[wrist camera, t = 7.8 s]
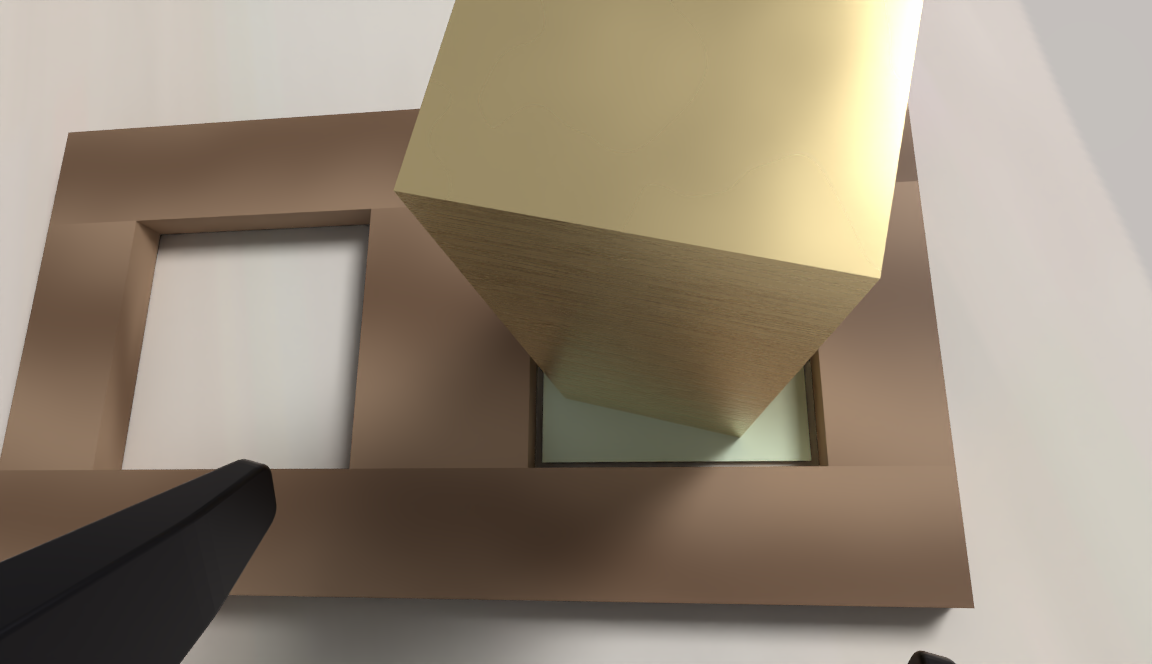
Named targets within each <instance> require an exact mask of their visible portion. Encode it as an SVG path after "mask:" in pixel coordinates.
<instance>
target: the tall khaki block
mask: <svg viewBox="0 0 1152 664" xmlns="http://www.w3.org/2000/svg"><path fill="white" fill-rule="evenodd" d="M922 4H923V0H456V1H455V4H454V7H453V10H452V13H451V16H450V19H449V22H448V25H447V28H446V31H445V34H444V37H443V40H442V43H441V47H440V50H439V53H438V56H437V59H436V62H435V65H434V68H433V71H432V74H431V77H430V80H429V83H428V86H427V89H426V92H425V95H424V99H423V102H422V105H421V108H420V111H419V114H418V117H417V120H416V123H415V126H414V129H413V132H412V135H411V138H410V141H409V144H408V147H407V150H406V154H405V157H404V160H403V163H402V166H401V169H400V172H399V175H398V178H397V181H396V184H395V187H394V190H393V191H394V192H395V193H396V194H397V196H398V197H399V198H400V199H401V201H402V202H403V203H404V204H405V205H406V207H407V208H408V209H409V210H410V211H411V213H412V214H413V215H414V216H415V217H416V219H417V220H418V221H419V222H420V223H421V225H422V226H423V227H424V228H425V230H426V231H427V232H428V233H429V234H430V236H431V237H432V238H433V239H434V240H435V242H436V243H437V244H438V245H439V246H440V248H441V249H442V250H443V251H444V252H445V254H446V255H447V256H448V257H449V259H450V260H451V261H452V262H453V263H454V265H455V266H456V267H457V268H458V269H459V271H460V272H461V273H462V274H463V275H464V277H465V278H466V279H467V280H468V281H469V283H470V284H471V285H472V286H473V288H474V289H475V290H476V291H477V292H478V294H479V295H480V296H481V297H482V298H483V300H484V301H485V302H486V303H487V304H488V306H489V307H490V308H491V309H492V310H493V312H494V313H495V314H496V315H497V317H498V318H499V319H500V320H501V321H502V323H503V324H504V325H505V326H506V327H507V329H508V330H509V331H510V332H511V333H512V335H513V336H514V337H515V338H516V339H517V341H518V342H519V343H520V344H521V346H522V347H523V348H524V349H525V350H526V352H527V353H528V354H529V355H530V356H531V358H532V359H533V360H534V361H535V362H536V364H537V365H538V366H539V367H540V368H541V370H542V371H543V372H544V373H545V375H546V376H547V377H548V378H549V379H550V381H551V382H552V383H553V384H554V385H555V387H556V388H557V389H558V390H559V391H560V393H561V394H562V395H563V396H564V397H565V398H567V399H571V400H575V401H580V402H584V403H589V404H593V405H598V406H602V407H606V408H611V409H615V410H620V411H624V412H628V413H633V414H637V415H642V416H646V417H651V418H655V419H659V420H664V421H668V422H673V423H677V424H681V425H686V426H690V427H695V428H699V429H704V430H708V431H712V432H717V433H721V434H726V435H730V436H735V437H739V438H740V437H741V436H742V435H743V434H744V433H745V432H746V431H747V429H748V428H749V427H750V426H751V425H752V424H753V423H754V421H755V420H756V419H757V418H758V417H759V416H760V415H761V413H762V412H763V411H764V410H765V409H766V408H767V407H768V406H769V404H770V403H771V402H772V401H773V400H774V399H775V398H776V396H777V395H778V394H779V393H780V392H781V391H782V390H783V388H784V387H785V386H786V385H787V384H788V383H789V382H790V381H791V379H792V378H793V377H794V376H795V375H796V374H797V373H798V371H799V370H800V369H801V368H802V367H803V366H804V365H805V363H806V362H807V361H808V360H809V359H810V358H811V357H812V356H813V354H814V353H815V352H816V351H817V350H818V349H819V348H820V346H821V345H822V344H823V343H824V342H825V341H826V340H827V338H828V337H829V336H830V335H831V334H832V333H833V332H834V331H835V329H836V328H837V327H838V326H839V325H840V324H841V323H842V321H843V320H844V319H845V318H846V317H847V316H848V315H849V314H850V312H851V311H852V310H853V309H854V308H855V307H856V306H857V304H858V303H859V302H860V301H861V300H862V299H863V298H864V296H865V295H866V294H867V293H868V292H869V291H870V290H871V289H872V287H873V286H874V285H875V284H876V283H877V282H878V281H879V279H880V277H881V270H882V264H883V257H884V251H885V244H886V238H887V231H888V225H889V218H890V212H891V205H892V199H893V192H894V186H895V179H896V173H897V166H898V160H899V153H900V147H901V140H902V134H903V127H904V121H905V114H906V108H907V101H908V95H909V88H910V82H911V75H912V69H913V62H914V56H915V49H916V43H917V36H918V30H919V23H920V17H921V10H922Z"/></svg>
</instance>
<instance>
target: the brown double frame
mask: <svg viewBox="0 0 1152 664" xmlns="http://www.w3.org/2000/svg"><path fill="white" fill-rule="evenodd" d="M419 111H420V109H410V110H396V111H381V112H366V113H351V114H337V115H322V116H307V117H292V118H278V119H263V120H248V121H233V122H219V123H204V124H189V125H174V126H160V127H145V128H130V129H115V130H101V131H86V132H71V133H68V138H67V143H66V148H65V152H64V157H63V162H62V167H61V171H60V176H59V181H58V186H57V191H56V195H55V200H54V205H53V210H52V214H51V219H50V224H49V229H48V233H47V238H46V243H45V248H44V253H43V257H42V262H41V267H40V272H39V276H38V281H37V286H36V291H35V295H34V300H33V305H32V310H31V315H30V319H29V324H28V329H27V334H26V338H25V343H24V348H23V353H22V357H21V362H20V367H19V372H18V377H17V381H16V386H15V391H14V396H13V400H12V405H11V410H10V415H9V419H8V424H7V429H6V434H5V439H4V443H3V448H2V453H1V458H0V562H1V561H4V560H6V559H8V558H11V557H13V556H15V555H18V554H20V553H22V552H25V551H27V550H29V549H32V548H34V547H36V546H39V545H41V544H43V543H46V542H48V541H50V540H53V539H55V538H57V537H60V536H62V535H64V534H67V533H69V532H71V531H74V530H76V529H78V528H81V527H83V526H85V525H88V524H90V523H92V522H95V521H97V520H99V519H102V518H104V517H106V516H109V515H111V514H113V513H116V512H118V511H120V510H123V509H125V508H127V507H130V506H132V505H134V504H137V503H139V502H141V501H144V500H146V499H148V498H151V497H153V496H155V495H158V494H160V493H162V492H165V491H167V490H169V489H172V488H174V487H176V486H179V485H181V484H183V483H186V482H188V481H190V480H193V479H195V478H197V477H200V476H202V475H204V474H207V473H209V472H211V471H214V470H216V469H186V470H121V468H122V462H123V456H124V450H125V444H126V438H127V432H128V426H129V420H130V414H131V408H132V402H133V396H134V390H135V384H136V378H137V372H138V366H139V360H140V354H141V348H142V342H143V336H144V330H145V324H146V317H147V311H148V305H149V299H150V293H151V287H152V281H153V275H154V269H155V263H156V257H157V251H158V245H159V239H160V234H177V233H198V232H219V231H239V230H260V229H281V228H302V227H323V226H343V225H364V224H370V229H369V241H368V253H367V265H366V277H365V288H364V300H363V312H362V324H361V336H360V348H359V359H358V371H357V383H356V395H355V407H354V418H353V430H352V442H351V454H350V466H349V469H270V470H271V472H272V478H273V484H274V491H275V497H276V504H277V508H276V514H275V517H274V520H273V522H272V524H271V526H270V527H269V529H268V531H267V532H266V534H265V536H264V537H263V539H262V541H261V542H260V544H259V546H258V547H257V549H256V551H255V552H254V554H253V555H252V557H251V559H250V560H249V562H248V564H247V565H246V567H245V569H244V570H243V572H242V574H241V575H240V577H239V579H238V580H237V582H236V584H235V585H234V587H233V589H232V590H231V592H230V593H229V595H252V596H309V597H366V598H423V599H479V600H536V601H593V602H650V603H707V604H764V605H821V606H878V607H934V608H974V602H973V595H972V587H971V580H970V572H969V564H968V557H967V549H966V542H965V534H964V526H963V519H962V511H961V504H960V496H959V488H958V481H957V473H956V466H955V458H954V450H953V443H952V435H951V428H950V420H949V413H948V405H947V397H946V390H945V382H944V375H943V367H942V359H941V352H940V344H939V337H938V329H937V321H936V314H935V306H934V299H933V291H932V283H931V276H930V268H929V261H928V253H927V245H926V238H925V230H924V223H923V215H922V207H921V200H920V192H919V185H918V177H917V170H916V162H915V154H914V147H913V139H912V132H911V124H910V116H909V109H908V101H907V108H906V114H905V121H904V127H903V134H902V140H901V147H900V153H899V160H898V166H897V173H896V179H895V186H894V192H893V199H892V205H891V212H890V218H889V225H888V231H887V238H886V244H885V251H884V257H883V264H882V270H881V277H880V279H879V281H878V282H877V283H876V284H875V285H874V286H873V287H872V289H871V290H870V291H869V292H868V293H867V294H866V295H865V296H864V298H863V299H862V300H861V301H860V302H859V303H858V304H857V306H856V307H855V308H854V309H853V310H852V311H851V312H850V314H849V315H848V316H847V317H846V318H845V319H844V320H843V321H842V323H841V324H840V325H839V326H838V327H837V328H836V329H835V331H834V332H833V333H832V334H831V335H830V336H829V337H828V338H827V340H826V341H825V342H824V343H823V344H822V345H821V346H820V348H819V349H818V350H817V351H816V352H815V353H814V354H813V356H812V357H811V358H810V360H811V372H812V384H813V396H814V408H815V420H816V432H817V444H818V456H819V466H773V467H577V468H535V445H536V391H537V364H536V362H535V361H534V360H533V359H532V358H531V356H530V355H529V354H528V353H527V352H526V350H525V349H524V348H523V347H522V346H521V344H520V343H519V342H518V341H517V339H516V338H515V337H514V336H513V335H512V333H511V332H510V331H509V330H508V329H507V327H506V326H505V325H504V324H503V323H502V321H501V320H500V319H499V318H498V317H497V315H496V314H495V313H494V312H493V310H492V309H491V308H490V307H489V306H488V304H487V303H486V302H485V301H484V300H483V298H482V297H481V296H480V295H479V294H478V292H477V291H476V290H475V289H474V288H473V286H472V285H471V284H470V283H469V281H468V280H467V279H466V278H465V277H464V275H463V274H462V273H461V272H460V271H459V269H458V268H457V267H456V266H455V265H454V263H453V262H452V261H451V260H450V259H449V257H448V256H447V255H446V254H445V252H444V251H443V250H442V249H441V248H440V246H439V245H438V244H437V243H436V242H435V240H434V239H433V238H432V237H431V236H430V234H429V233H428V232H427V231H426V230H425V228H424V227H423V226H422V225H421V223H420V222H419V221H418V220H417V219H416V217H415V216H414V215H413V214H412V213H411V211H410V210H409V209H408V208H407V207H406V205H405V204H404V203H403V202H402V201H401V199H400V198H399V197H398V196H397V194H396V193H395V192H394V191H393V190H394V187H395V184H396V181H397V178H398V175H399V172H400V169H401V166H402V163H403V160H404V157H405V154H406V150H407V147H408V144H409V141H410V138H411V135H412V132H413V129H414V126H415V123H416V120H417V117H418V114H419ZM721 461H811V452H810V440H809V427H808V415H807V402H806V390H805V377H804V366H803V367H802V368H801V369H800V370H799V371H798V373H797V374H796V375H795V376H794V377H793V378H792V379H791V381H790V382H789V383H788V384H787V385H786V386H785V387H784V388H783V390H782V391H781V392H780V393H779V394H778V395H777V396H776V398H775V399H774V400H773V401H772V402H771V403H770V404H769V406H768V407H767V408H766V409H765V410H764V411H763V412H762V413H761V415H760V416H759V417H758V418H757V419H756V420H755V421H754V423H753V424H752V425H751V426H750V427H749V428H748V429H747V431H746V432H745V433H744V434H743V435H742V436H741V437H740V438H739V437H735V436H730V435H726V434H721V433H717V432H712V431H708V430H704V429H699V428H695V427H690V426H686V425H681V424H677V423H673V422H668V421H664V420H659V419H655V418H651V417H646V416H642V415H637V414H633V413H628V412H624V411H620V410H615V409H611V408H606V407H602V406H598V405H593V404H589V403H584V402H580V401H575V400H571V399H567V398H565V397H564V396H563V395H562V394H561V393H560V391H559V390H558V389H557V388H556V387H555V385H554V384H553V383H552V382H551V381H550V379H549V378H548V377H547V376H546V375H545V373H544V384H543V447H542V462H543V463H554V462H721Z"/></svg>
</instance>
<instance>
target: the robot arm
mask: <svg viewBox="0 0 1152 664" xmlns="http://www.w3.org/2000/svg"><path fill="white" fill-rule="evenodd" d="M276 508H277V504H276V497H275V491H274V484H273V478H272V472H271V470H270V468H269V467H268V466H267V465H265V464H261V463H258V462H254V461H251V460H247V459H241V460H238V461H235V462H232V463H230V464H228V465H225V466H223V467H221V468H218V469H216V470H214V471H211V472H209V473H207V474H204V475H202V476H200V477H197V478H195V479H193V480H190V481H188V482H186V483H183V484H181V485H179V486H176V487H174V488H172V489H169V490H167V491H165V492H162V493H160V494H158V495H155V496H153V497H151V498H148V499H146V500H144V501H141V502H139V503H137V504H134V505H132V506H130V507H127V508H125V509H123V510H120V511H118V512H116V513H113V514H111V515H109V516H106V517H104V518H102V519H99V520H97V521H95V522H92V523H90V524H88V525H85V526H83V527H81V528H78V529H76V530H74V531H71V532H69V533H67V534H64V535H62V536H60V537H57V538H55V539H53V540H50V541H48V542H46V543H43V544H41V545H39V546H36V547H34V548H32V549H29V550H27V551H25V552H22V553H20V554H18V555H15V556H13V557H11V558H8V559H6V560H4V561H1V562H0V664H180V663H181V661H182V660H183V659H184V657H185V656H186V655H187V653H188V652H189V651H190V649H191V648H192V647H193V645H194V644H195V643H196V641H197V640H198V639H199V637H200V636H201V635H202V633H203V632H204V631H205V629H206V628H207V627H208V625H209V624H210V622H211V621H212V620H213V618H214V617H215V615H216V614H217V612H218V611H219V609H220V608H221V606H222V605H223V603H224V602H225V600H226V598H227V597H228V595H229V593H230V592H231V590H232V589H233V587H234V585H235V584H236V582H237V580H238V579H239V577H240V575H241V574H242V572H243V570H244V569H245V567H246V565H247V564H248V562H249V560H250V559H251V557H252V555H253V554H254V552H255V551H256V549H257V547H258V546H259V544H260V542H261V541H262V539H263V537H264V536H265V534H266V532H267V531H268V529H269V527H270V526H271V524H272V522H273V520H274V517H275V514H276ZM908 664H955V663H954V662H953V661H952V660H950V659H948V658H946V657H943V656H939V655H936V654H932V653H928V652H925V651H917V652H915V653H914V654H913V655H912V657H911V658H910V660H909V662H908Z"/></svg>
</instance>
